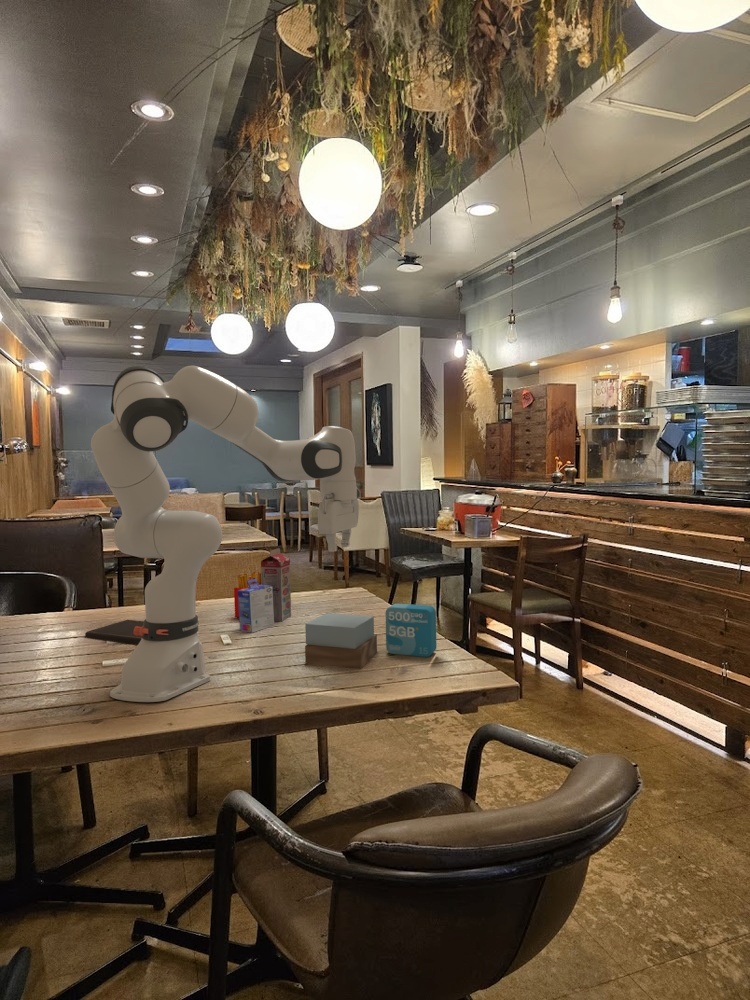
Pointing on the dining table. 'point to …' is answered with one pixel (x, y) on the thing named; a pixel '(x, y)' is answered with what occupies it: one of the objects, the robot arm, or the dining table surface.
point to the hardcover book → (118, 632)
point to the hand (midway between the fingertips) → (339, 549)
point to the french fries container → (243, 585)
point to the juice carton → (278, 583)
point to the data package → (411, 630)
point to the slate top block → (339, 630)
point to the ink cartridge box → (255, 607)
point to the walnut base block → (341, 655)
